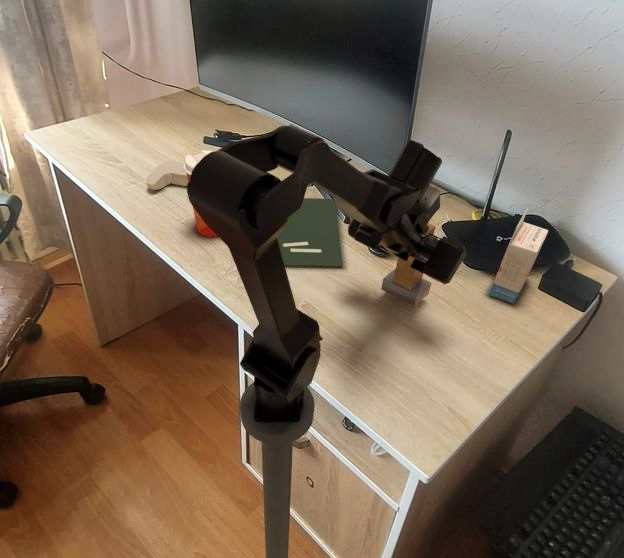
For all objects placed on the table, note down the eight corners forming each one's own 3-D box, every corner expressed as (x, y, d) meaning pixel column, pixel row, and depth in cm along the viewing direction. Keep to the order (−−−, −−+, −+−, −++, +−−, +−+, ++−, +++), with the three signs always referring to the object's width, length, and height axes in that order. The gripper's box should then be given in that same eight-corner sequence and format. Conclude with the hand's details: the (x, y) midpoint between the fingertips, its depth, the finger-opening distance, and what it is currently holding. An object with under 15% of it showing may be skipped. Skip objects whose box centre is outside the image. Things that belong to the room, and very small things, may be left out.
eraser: (414, 307, 91) (430, 242, 81) (380, 289, 94) (393, 224, 84) (428, 293, 93) (446, 229, 84) (396, 276, 96) (410, 212, 86)
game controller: (140, 180, 112) (158, 151, 117) (146, 196, 116) (163, 167, 121) (203, 192, 110) (219, 161, 115) (207, 207, 114) (222, 177, 119)
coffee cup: (184, 226, 107) (173, 156, 96) (217, 213, 111) (211, 144, 100) (207, 245, 103) (199, 175, 92) (241, 231, 107) (237, 161, 96)
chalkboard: (342, 268, 100) (342, 265, 100) (259, 266, 99) (259, 263, 99) (335, 201, 116) (335, 198, 116) (263, 199, 116) (263, 196, 115)
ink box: (514, 305, 95) (544, 237, 84) (487, 295, 97) (514, 227, 86) (526, 281, 100) (556, 214, 90) (500, 271, 102) (527, 205, 91)
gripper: (479, 200, 70) (491, 235, 84) (367, 153, 78) (395, 193, 92) (436, 273, 71) (455, 295, 86) (330, 219, 79) (363, 248, 93)
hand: (416, 255), depth 89 cm, fingers closed on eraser, 3 cm apart
